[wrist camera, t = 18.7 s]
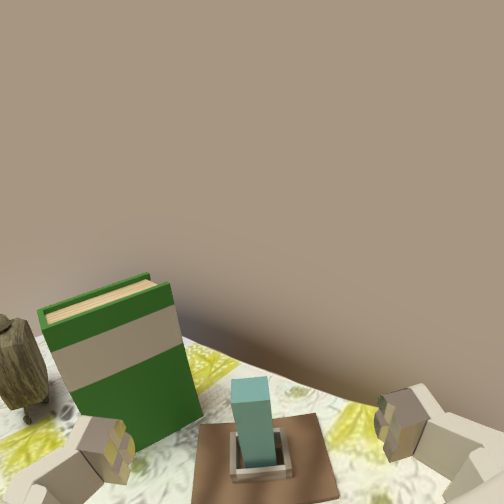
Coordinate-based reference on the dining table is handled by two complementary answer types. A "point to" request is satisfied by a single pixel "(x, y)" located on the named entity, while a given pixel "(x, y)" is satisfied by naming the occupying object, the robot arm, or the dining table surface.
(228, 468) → the socket board
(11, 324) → the tabletop clock
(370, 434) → the dining table surface
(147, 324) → the hardback book
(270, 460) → the teal post
